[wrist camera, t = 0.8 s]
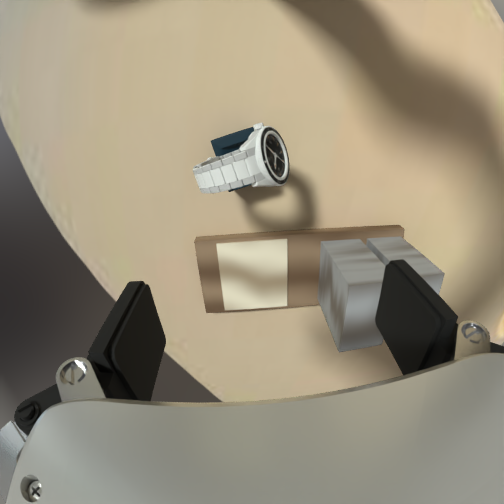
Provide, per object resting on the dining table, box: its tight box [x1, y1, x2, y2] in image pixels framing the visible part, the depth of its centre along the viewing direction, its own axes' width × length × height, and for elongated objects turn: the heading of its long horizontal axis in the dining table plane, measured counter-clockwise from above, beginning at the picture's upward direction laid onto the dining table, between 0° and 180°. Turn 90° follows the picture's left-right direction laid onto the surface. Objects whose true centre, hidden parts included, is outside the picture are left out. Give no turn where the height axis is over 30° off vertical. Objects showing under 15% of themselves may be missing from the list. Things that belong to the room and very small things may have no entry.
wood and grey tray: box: [194, 225, 444, 352], centre depth 30 cm, size 10×26×12 cm, turn 93°
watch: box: [193, 123, 289, 193], centre depth 24 cm, size 6×8×11 cm
